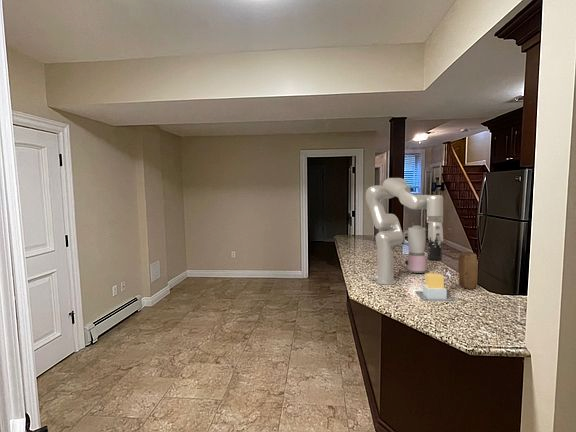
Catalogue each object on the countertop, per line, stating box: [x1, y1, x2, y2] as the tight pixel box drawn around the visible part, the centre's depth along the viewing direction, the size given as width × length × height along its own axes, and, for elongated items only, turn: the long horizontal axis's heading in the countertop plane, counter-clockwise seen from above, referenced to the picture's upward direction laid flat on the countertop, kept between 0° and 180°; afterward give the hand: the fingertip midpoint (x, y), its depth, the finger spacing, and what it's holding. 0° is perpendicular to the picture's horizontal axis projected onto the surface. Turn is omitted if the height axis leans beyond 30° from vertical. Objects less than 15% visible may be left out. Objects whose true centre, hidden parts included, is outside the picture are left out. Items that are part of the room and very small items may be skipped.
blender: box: [401, 225, 428, 275], centre depth 225 cm, size 16×12×32 cm
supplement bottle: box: [427, 238, 443, 262], centre depth 168 cm, size 7×7×12 cm
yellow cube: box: [424, 272, 445, 289], centre depth 169 cm, size 7×7×6 cm
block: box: [457, 251, 478, 290], centre depth 188 cm, size 11×8×20 cm
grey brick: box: [422, 283, 448, 299], centre depth 170 cm, size 9×9×5 cm
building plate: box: [414, 290, 457, 302], centre depth 170 cm, size 16×16×2 cm
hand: (434, 253), depth 168 cm, fingers closed on supplement bottle, 6 cm apart
